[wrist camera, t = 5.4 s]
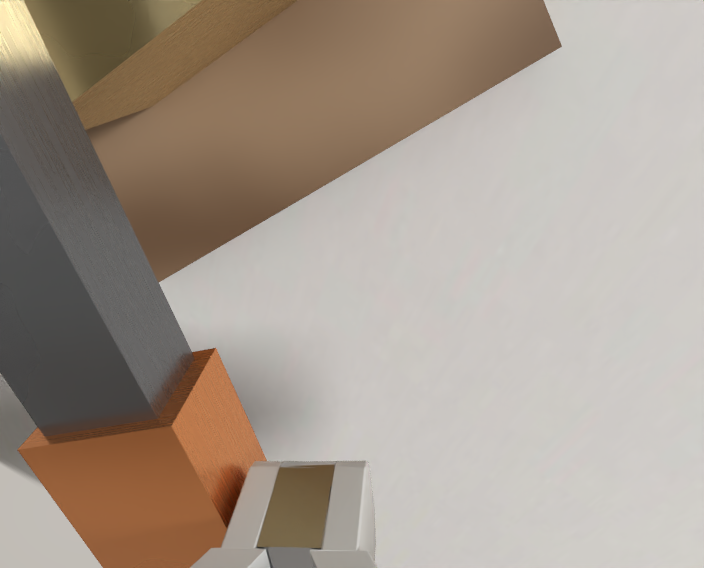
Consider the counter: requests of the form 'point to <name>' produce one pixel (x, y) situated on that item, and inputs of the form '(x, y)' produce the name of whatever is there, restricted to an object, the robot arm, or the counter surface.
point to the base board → (304, 111)
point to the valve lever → (102, 341)
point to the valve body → (139, 46)
